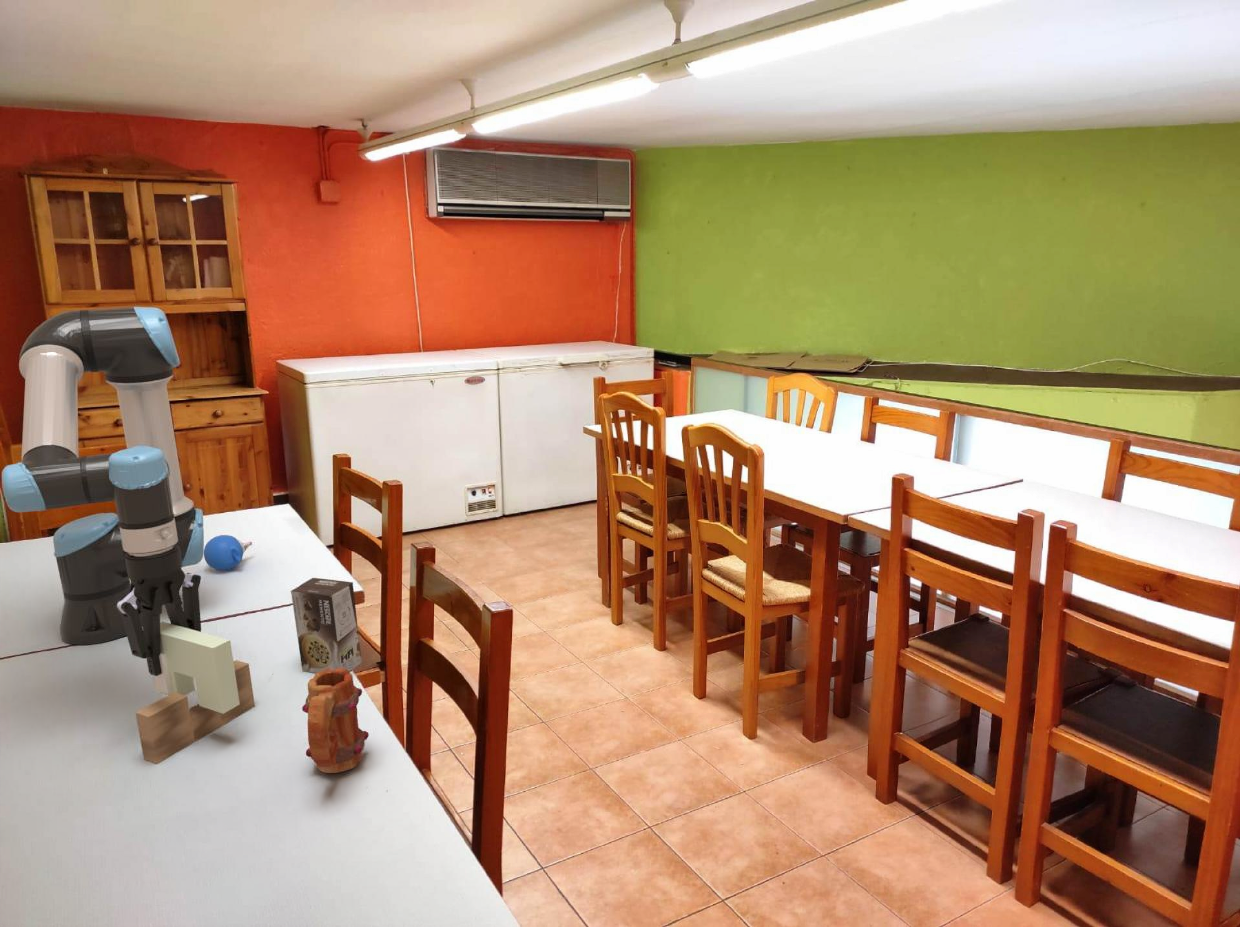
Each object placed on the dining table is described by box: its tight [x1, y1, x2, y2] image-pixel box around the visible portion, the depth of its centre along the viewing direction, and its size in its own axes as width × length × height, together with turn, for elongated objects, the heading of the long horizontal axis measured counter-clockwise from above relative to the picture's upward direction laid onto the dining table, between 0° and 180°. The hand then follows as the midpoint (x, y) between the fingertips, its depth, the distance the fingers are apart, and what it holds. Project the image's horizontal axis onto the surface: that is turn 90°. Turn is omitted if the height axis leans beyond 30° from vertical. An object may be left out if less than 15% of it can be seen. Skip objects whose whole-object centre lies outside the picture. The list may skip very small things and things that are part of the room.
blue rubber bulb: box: [203, 534, 253, 572], centre depth 204 cm, size 12×12×8 cm
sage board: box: [152, 620, 240, 714], centre depth 132 cm, size 16×3×11 cm, turn 63°
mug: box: [301, 668, 370, 774], centre depth 122 cm, size 15×8×15 cm, turn 5°
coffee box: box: [290, 577, 362, 674], centre depth 154 cm, size 9×6×16 cm
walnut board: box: [135, 659, 256, 765], centre depth 135 cm, size 18×3×8 cm, turn 153°
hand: (175, 684), depth 136 cm, fingers closed on sage board, 3 cm apart
